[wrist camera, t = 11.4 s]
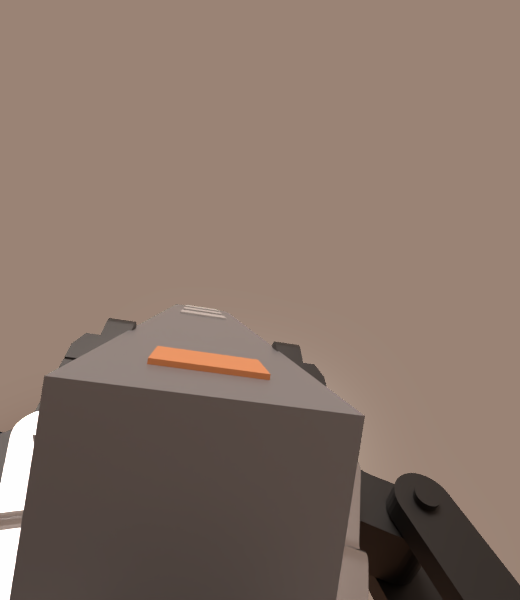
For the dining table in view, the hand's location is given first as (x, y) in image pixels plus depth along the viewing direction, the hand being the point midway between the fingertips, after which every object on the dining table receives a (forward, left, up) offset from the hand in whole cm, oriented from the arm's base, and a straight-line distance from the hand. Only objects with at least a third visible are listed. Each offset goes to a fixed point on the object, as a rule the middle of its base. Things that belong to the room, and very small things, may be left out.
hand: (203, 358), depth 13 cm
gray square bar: (-4, +6, -3) cm, 8 cm away
